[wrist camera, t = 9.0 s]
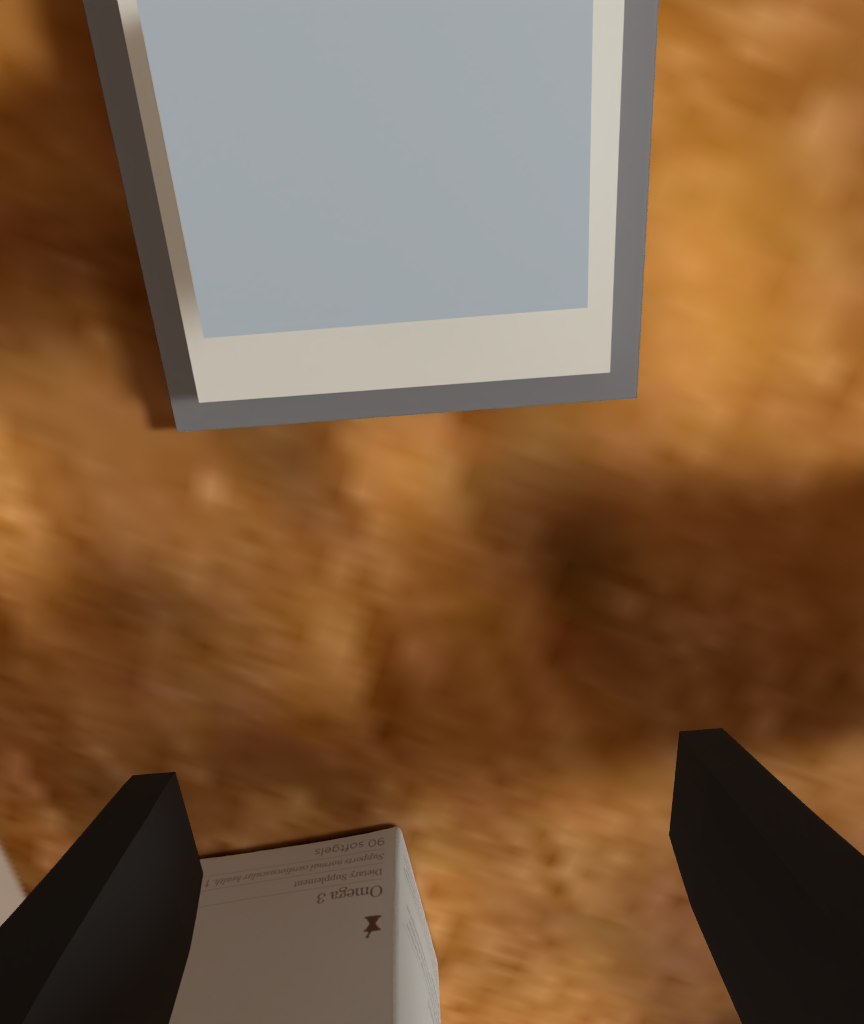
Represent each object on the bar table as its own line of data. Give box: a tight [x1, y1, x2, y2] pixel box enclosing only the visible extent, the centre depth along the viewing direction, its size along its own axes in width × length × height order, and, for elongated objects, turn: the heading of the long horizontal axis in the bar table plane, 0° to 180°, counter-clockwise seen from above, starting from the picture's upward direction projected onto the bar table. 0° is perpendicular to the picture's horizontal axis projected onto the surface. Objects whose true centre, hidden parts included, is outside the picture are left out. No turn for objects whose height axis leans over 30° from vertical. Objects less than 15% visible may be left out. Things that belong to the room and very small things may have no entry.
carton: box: [136, 0, 593, 338], centre depth 10 cm, size 4×4×8 cm
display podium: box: [83, 0, 659, 432], centre depth 15 cm, size 12×11×2 cm
